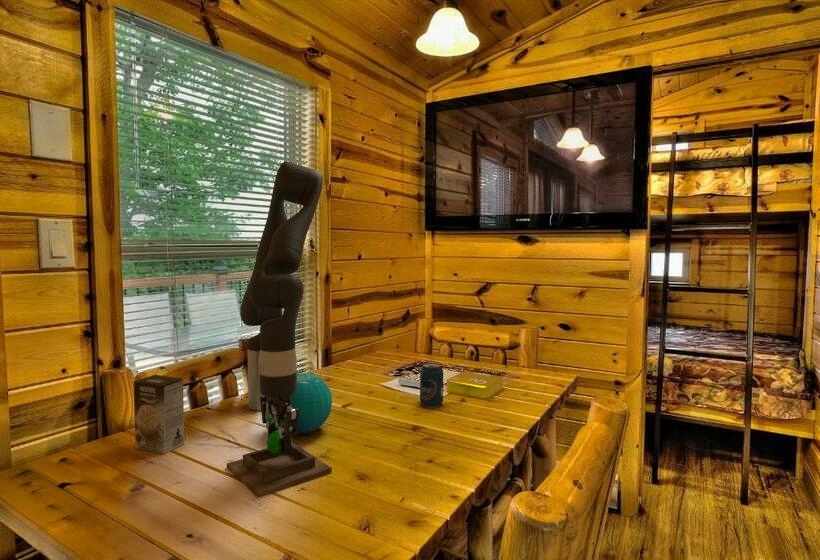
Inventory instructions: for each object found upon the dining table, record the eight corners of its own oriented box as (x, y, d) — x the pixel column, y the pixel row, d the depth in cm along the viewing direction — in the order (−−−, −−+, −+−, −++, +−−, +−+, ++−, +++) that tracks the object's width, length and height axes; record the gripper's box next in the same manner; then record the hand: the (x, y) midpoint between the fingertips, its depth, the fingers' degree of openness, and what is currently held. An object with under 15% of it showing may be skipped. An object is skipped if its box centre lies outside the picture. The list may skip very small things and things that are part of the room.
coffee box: (133, 449, 113) (131, 380, 111) (156, 438, 119) (154, 374, 117) (164, 454, 110) (162, 384, 108) (186, 444, 116) (184, 377, 114)
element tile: (504, 389, 163) (505, 375, 163) (487, 401, 150) (487, 386, 150) (464, 382, 171) (464, 369, 171) (444, 393, 158) (444, 378, 158)
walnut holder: (226, 467, 103) (226, 454, 103) (295, 448, 114) (295, 435, 113) (257, 497, 91) (257, 482, 91) (331, 472, 101) (331, 458, 101)
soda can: (416, 406, 144) (416, 366, 143) (424, 399, 150) (424, 361, 149) (438, 409, 141) (439, 368, 140) (446, 402, 148) (446, 363, 147)
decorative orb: (259, 438, 119) (258, 378, 118) (294, 418, 133) (293, 364, 132) (312, 447, 114) (312, 384, 113) (342, 425, 128) (342, 369, 127)
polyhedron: (278, 460, 99) (278, 437, 98) (262, 454, 101) (261, 432, 101) (296, 451, 103) (296, 429, 103) (280, 446, 106) (279, 424, 105)
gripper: (311, 374, 98) (312, 456, 99) (279, 361, 109) (280, 435, 110) (276, 380, 93) (277, 466, 94) (246, 366, 104) (248, 444, 105)
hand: (279, 449), depth 102 cm, fingers closed on polyhedron, 5 cm apart
